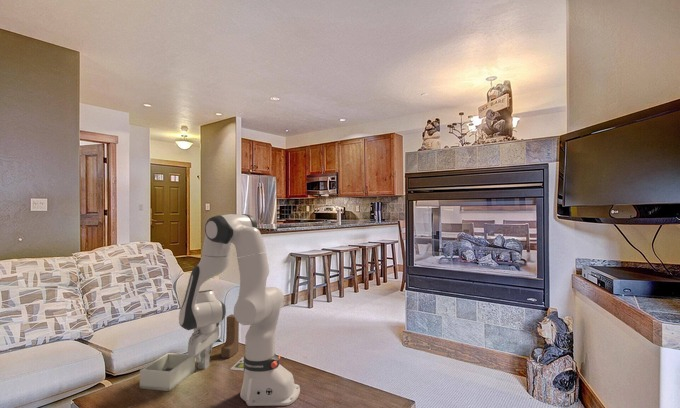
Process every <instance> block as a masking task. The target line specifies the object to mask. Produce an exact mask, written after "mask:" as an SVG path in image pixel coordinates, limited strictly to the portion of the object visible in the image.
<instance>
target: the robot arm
mask: <svg viewBox="0 0 680 408" xmlns="http://www.w3.org/2000/svg"><path fill="white" fill-rule="evenodd" d="M204 232H205V236H204V240H203V245H202V253H201V257H200V260H199V262H198V264H197V265H196V266H195V267H193V268H192V271H191V272H190V276H189V280H188V283H187V286H186V290H185V294H184V295H185V296H184V298H183V302H182V305H181V307H180V309H179V314H178V324H179V326H180V327H182V328H183V329H184V330H186V331H191V330H193V332H192V334H191V335H190V337H189V338H188V344H187V354H188V355H191V356H195V363H198V362H200V361H201V357H200V352H201V351H203V350H204V349H205V348H207V347H208V346H210V355H211V354H212V349H213V346H214V343H215V342H217V341H218V340H219V338H220V325H221V322H223V321H224V319H225V317H226V314H227V311H226V309H227V307H226V304H225V303H223V301H221V300H218V298H217V297H216V295H215V291H214V290H213V289H206V290H200V288H201V286H202V285H203V284H205V283H206V282H207V281H209V280H211V279H213V278H215V277H216V276H219V275H221V274H222V273H223V272H224V271H226V269H228V266H229V265H230V264H229V263H230V258H231V244H233V246H234V247H235V251H236V252H235V253H236V258H237V259H236V260H237V264H238V265H237V266H238V270H239V281H240V282H239V292H238V297H237V300H236V302H235V304H234V306H233V315H234V316H235V319H236V320H237V321H238V322H239V324H240V325H242V326H249V327H248V329H247V331H246V334H245V341H244V343H245V346H244V347H245V349H244V355H243V356H244V371H243V373H244V374H243V381H242V385H241V386H242V387H241V389H240V393H239V397H240V398H241V399H242V400H243V402H244V401H245V403H246V405H247V406H248V407H256V406H257V407H260V406H261V407H263V406H264V407H265V406H266V407H269V406H272V407H273V406H274V407H275V406H289V405H291V404H293V403H294V402H295V401H296V400H297V399H298V397H299V395H300V393H301V387H300V385H299V384H297V383H295V379H294V376H293V373H292V372H290V370H287V369H286V368H285V367H284V366H282V364H280V359H281V355H278V356H277V355H276V353H275V347H276V346H275V344H276V330H277V324H278V322H279V315H280V313H281V312H280V311H281V310H282V307H283V305H284V302H285V296H284V293H283V291H282V290H281V289H280V288H278V287H276V286H267V280H268V276H269V274H270V269H269V268H270V267H269V262H268V257H267V250H266V246H265V242H264V239H263V236H262V234H261V231H260V229H258V223H257V220H256V218H255V217H254V216H253V215H251V214H247V213H244V214H243V213H242V214H240V213H239V214H238V213H236V214H234V213H228V214H223V215H222V214H221V215H219V214H218V215H213V216H211V217H210V218H208V219H207V221H206V222H205V227H204Z"/></svg>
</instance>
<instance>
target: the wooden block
mask: <svg viewBox="0 0 680 408" xmlns="http://www.w3.org/2000/svg"><path fill="white" fill-rule="evenodd" d="M239 324H240V323H239V322H238V321H237V320H236V319H235V316H234V314H232V313H231V314H229V315H228V316H226V328H225V329H226V331H225V333H226V335H225V337H226V338H225V343H224V344H223V346H222V347H221V349H220V358H223V359H225V358H226V359H230V358H232V357H233V356H234V355H235V354H237V353H238V352H239V340H240V339H239V333H240V332H239V330H240V329H239V328H240V325H239Z"/></svg>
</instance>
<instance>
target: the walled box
mask: <svg viewBox="0 0 680 408" xmlns="http://www.w3.org/2000/svg"><path fill="white" fill-rule="evenodd" d="M195 372H196V358H195V356H191V355H188V353H186V354H185V353H172V352H167V353H165V354H164V355H162V356H161V357H159V358H158V359H156V360H154V361H152V362H151V363H149V364H148V365H146V366H144V367H142V368H140V370H139V389H145V390H153V391H155V390H156V391H164V392H171V390H173V389H174V388H175V387H177V386H178V385H179V384H181V383H182V382H183V381H185V380H186V379H187V378H189V376H191V375H192V374H194V373H195Z"/></svg>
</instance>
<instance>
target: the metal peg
mask: <svg viewBox="0 0 680 408" xmlns="http://www.w3.org/2000/svg"><path fill="white" fill-rule="evenodd" d="M210 355H211V354H210V346H208V347H207V348H205V349H204V350H203V351H201V352H200V357H201V361H200V362H197V369H200V370H206V369H207V368H209V367H210V359H211V358H210Z"/></svg>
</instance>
